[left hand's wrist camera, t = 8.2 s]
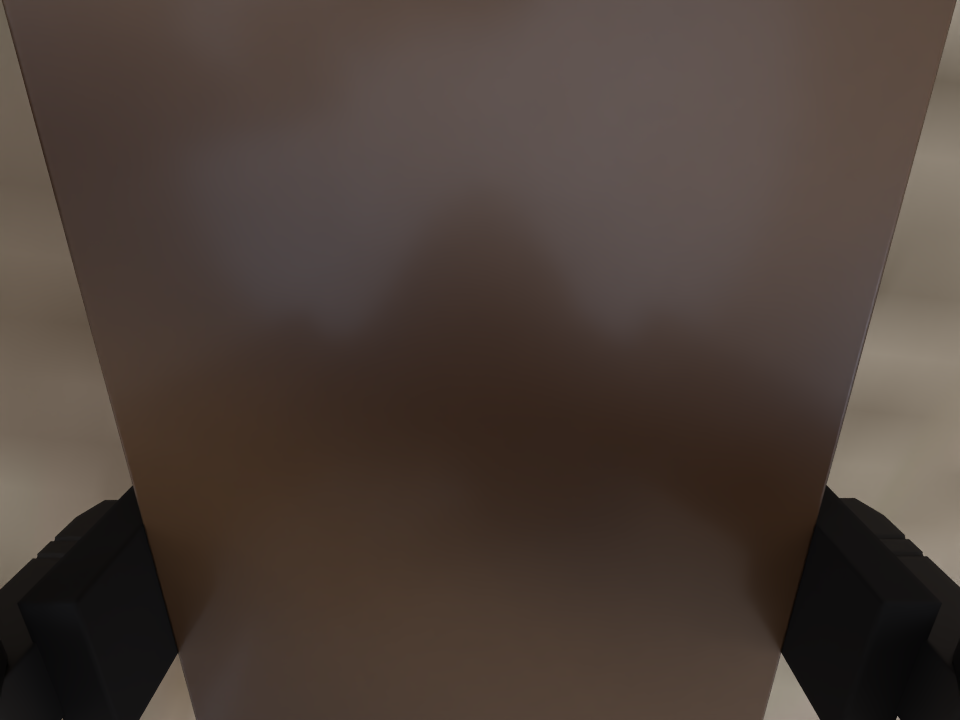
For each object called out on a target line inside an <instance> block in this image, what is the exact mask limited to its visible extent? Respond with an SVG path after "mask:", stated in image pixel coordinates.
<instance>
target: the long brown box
mask: <svg viewBox="0 0 960 720" xmlns="http://www.w3.org/2000/svg"><path fill="white" fill-rule="evenodd" d="M956 1H957V0H2V2H3V6H4V10H5V13H6V17H7V21H8V25H9V28H10V32H11V36H12V39H13V43H14V47H15V50H16V54H17V58H18V62H19V65H20V69H21V73H22V76H23V80H24V84H25V87H26V91H27V95H28V99H29V102H30V106H31V110H32V113H33V117H34V121H35V125H36V128H37V132H38V136H39V139H40V143H41V147H42V150H43V154H44V158H45V162H46V165H47V169H48V173H49V176H50V180H51V184H52V187H53V191H54V195H55V199H56V202H57V206H58V210H59V213H60V217H61V221H62V225H63V228H64V232H65V236H66V239H67V243H68V247H69V250H70V254H71V258H72V262H73V265H74V269H75V273H76V276H77V280H78V284H79V287H80V291H81V295H82V299H83V302H84V306H85V310H86V313H87V317H88V321H89V325H90V328H91V332H92V336H93V339H94V343H95V347H96V350H97V354H98V358H99V362H100V365H101V369H102V373H103V376H104V380H105V384H106V387H107V391H108V395H109V399H110V402H111V406H112V410H113V413H114V417H115V421H116V425H117V428H118V432H119V436H120V439H121V443H122V447H123V450H124V454H125V458H126V462H127V465H128V469H129V473H130V476H131V480H132V484H133V487H134V491H135V495H136V499H137V502H138V506H139V510H140V513H141V517H142V521H143V525H144V528H145V532H146V536H147V539H148V543H149V547H150V550H151V554H152V558H153V562H154V565H155V569H156V573H157V576H158V580H159V584H160V587H161V591H162V595H163V599H164V602H165V606H166V610H167V613H168V617H169V621H170V625H171V628H172V632H173V636H174V639H175V643H176V647H177V650H178V654H179V658H180V662H181V665H182V669H183V673H184V676H185V680H186V684H187V687H188V691H189V695H190V699H191V702H192V706H193V710H194V713H195V717H196V720H763V718H764V714H765V711H766V707H767V703H768V700H769V696H770V692H771V688H772V685H773V681H774V677H775V674H776V670H777V666H778V662H779V659H780V655H781V651H782V648H783V644H784V640H785V636H786V633H787V629H788V625H789V622H790V618H791V614H792V610H793V607H794V603H795V599H796V595H797V592H798V588H799V584H800V581H801V577H802V573H803V569H804V566H805V562H806V558H807V555H808V551H809V547H810V543H811V540H812V536H813V532H814V529H815V525H816V521H817V517H818V514H819V510H820V506H821V503H822V499H823V495H824V491H825V488H826V484H827V480H828V477H829V473H830V469H831V465H832V462H833V458H834V454H835V451H836V447H837V443H838V439H839V436H840V432H841V428H842V424H843V421H844V417H845V413H846V410H847V406H848V402H849V398H850V395H851V391H852V387H853V384H854V380H855V376H856V372H857V369H858V365H859V361H860V358H861V354H862V350H863V346H864V343H865V339H866V335H867V332H868V328H869V324H870V320H871V317H872V313H873V309H874V306H875V302H876V298H877V294H878V291H879V287H880V283H881V279H882V276H883V272H884V268H885V265H886V261H887V257H888V253H889V250H890V246H891V242H892V239H893V235H894V231H895V227H896V224H897V220H898V216H899V213H900V209H901V205H902V201H903V198H904V194H905V190H906V187H907V183H908V179H909V175H910V172H911V168H912V164H913V161H914V157H915V153H916V149H917V146H918V142H919V138H920V135H921V131H922V127H923V123H924V120H925V116H926V112H927V108H928V105H929V101H930V97H931V94H932V90H933V86H934V82H935V79H936V75H937V71H938V68H939V64H940V60H941V56H942V53H943V49H944V45H945V42H946V38H947V34H948V30H949V27H950V23H951V19H952V16H953V12H954V8H955V4H956Z"/></svg>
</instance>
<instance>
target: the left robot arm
mask: <svg viewBox="0 0 960 720" xmlns="http://www.w3.org/2000/svg"><path fill="white" fill-rule="evenodd" d="M922 553H923V552H922V551H921V550H920V549H919V548H918V547H917V546H916V545H915V544H914V543H913V542H911V541H910V540H909V539H905V535H904V534H903V533H902V532H901V531H900V530H899V529H898V528H897V527H896V526H895V525H894V524H892V523H891V522H890V521H889V520H888V519H887V518H886V517H885V516H884V515H883V514H881V513H879V512H877V511H876V510H874V509H872V508H871V507H869V506H867V505H866V504H864V503H862V502H861V501H859V500H857V499H855V498H838V496H837V495H836V494H835V493H834V492H833V491H832V490H831V489H830V488H829V487H828V486H827V485H826V488H825V491H824V495H823V499H822V503H821V506H820V510H819V514H818V517H817V521H816V525H815V529H814V532H813V536H812V540H811V543H810V547H809V551H808V555H807V558H806V562H805V566H804V569H803V573H802V577H801V581H800V584H799V588H798V592H797V595H796V599H795V603H794V607H793V610H792V614H791V618H790V622H789V625H788V629H787V633H786V636H785V640H784V644H783V648H782V651H781V653H782V655H783V656H784V658H785V660H786V661H787V663H788V665H789V667H790V668H791V670H792V672H793V674H794V675H795V677H796V679H797V680H798V682H799V684H800V686H801V687H802V689H803V691H804V693H805V694H806V696H807V698H808V699H809V701H810V703H811V705H812V706H813V708H814V710H815V712H816V713H817V715H818V717H819V718H820V720H896V718H897V716H898V717H899V718H900V720H960V587H959V586H958V585H957V584H956V583H955V582H954V581H953V580H952V579H951V578H949V577H948V576H947V575H946V574H945V573H944V572H943V571H942V570H941V569H940V568H939V567H938V566H937V565H936V564H935V563H934V562H933V561H932V560H930V559H929V558H928V557H927V556H923V554H922ZM37 555H38V556H37V558H36V559H32V560H31V561H30V562H29V563H28V564H27V565H25V566H24V567H23V568H22V569H21V570H20V571H19V572H18V573H17V574H16V575H15V576H14V577H13V578H12V579H11V580H10V581H9V582H8V583H7V584H6V585H5V586H3V587H2V588H1V589H0V720H61V719H62V718H63V720H139V719H140V717H141V716H142V714H143V712H144V711H145V709H146V707H147V705H148V704H149V702H150V700H151V698H152V697H153V695H154V693H155V692H156V690H157V688H158V686H159V685H160V683H161V681H162V679H163V678H164V676H165V674H166V673H167V671H168V669H169V667H170V666H171V664H172V662H173V660H174V659H175V657H176V655H177V654H178V650H177V647H176V643H175V639H174V636H173V632H172V628H171V625H170V621H169V617H168V613H167V610H166V606H165V602H164V599H163V595H162V591H161V587H160V584H159V580H158V576H157V573H156V569H155V565H154V562H153V558H152V554H151V550H150V547H149V543H148V539H147V536H146V532H145V528H144V525H143V521H142V517H141V513H140V510H139V506H138V502H137V499H136V495H135V491H134V487H133V486H132V487H131V488H130V489H129V490H128V491H127V492H126V493H125V494H124V495H123V496H122V497H121V498H120V499H119V500H104V501H103V502H101V503H99V504H97V505H96V506H94V507H92V508H91V509H89V510H87V511H86V512H84V513H82V514H81V515H79V516H77V517H76V518H75V519H74V520H73V521H72V522H71V523H70V524H68V525H67V526H66V527H65V528H64V529H63V530H62V531H61V532H60V533H59V534H58V535H57V536H56V537H55V541H51V542H50V543H49V544H47V545H46V546H45V547H44V548H43V549H42V550H41V551H40V552H39V553H38V554H37Z"/></svg>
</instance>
